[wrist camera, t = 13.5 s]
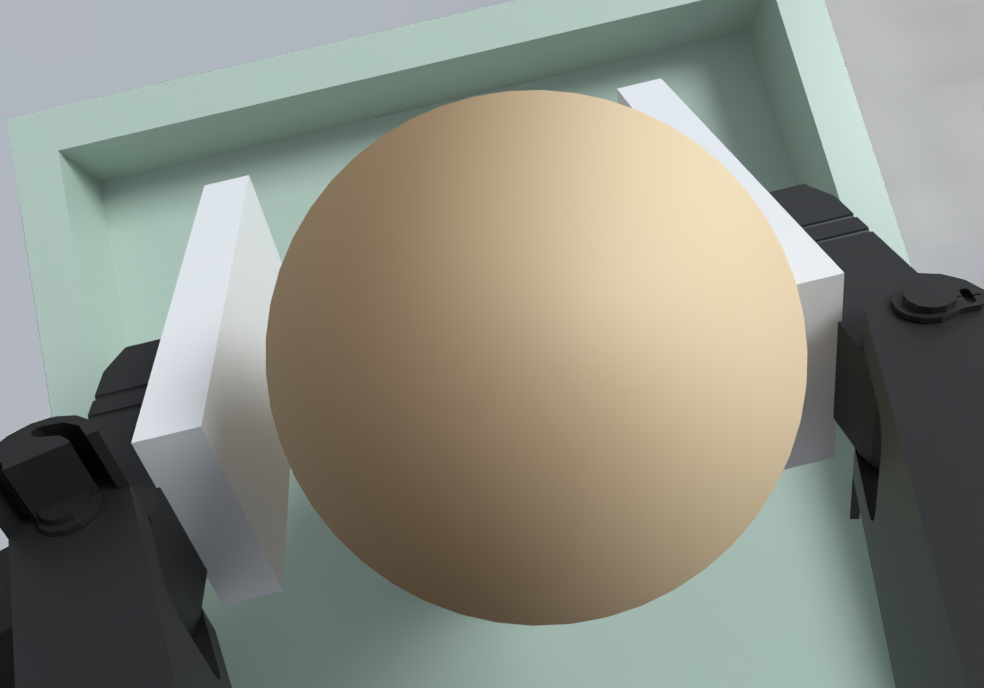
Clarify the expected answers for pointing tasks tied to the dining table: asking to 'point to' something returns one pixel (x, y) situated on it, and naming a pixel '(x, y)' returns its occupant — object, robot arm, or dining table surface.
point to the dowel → (536, 357)
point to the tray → (285, 202)
